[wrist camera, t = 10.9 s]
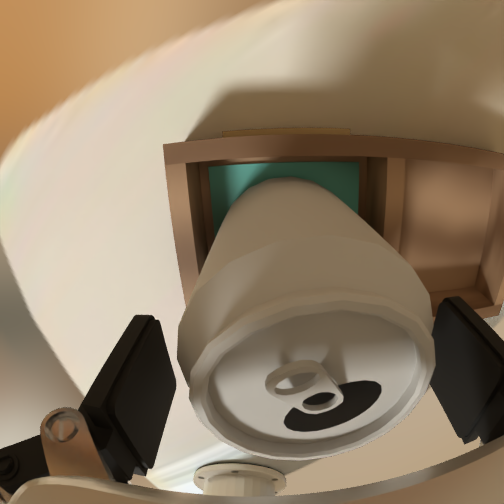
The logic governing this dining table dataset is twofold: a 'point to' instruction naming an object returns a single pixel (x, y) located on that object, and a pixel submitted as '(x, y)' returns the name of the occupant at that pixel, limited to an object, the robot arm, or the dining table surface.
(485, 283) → the tray
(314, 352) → the can
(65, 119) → the dining table surface
